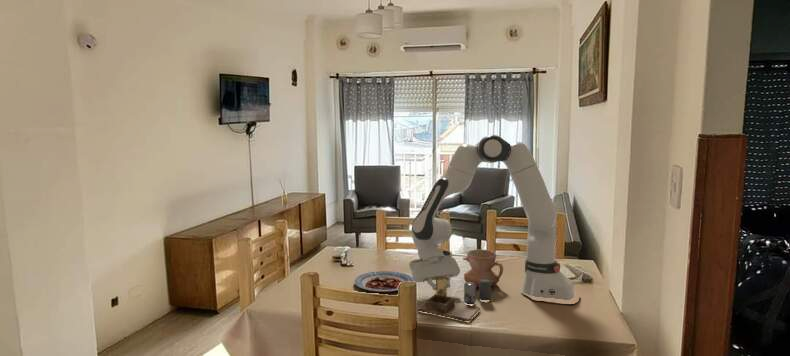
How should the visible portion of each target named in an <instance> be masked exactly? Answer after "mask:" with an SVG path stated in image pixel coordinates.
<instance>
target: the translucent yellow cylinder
mask: <svg viewBox="0 0 790 356" xmlns="http://www.w3.org/2000/svg"><path fill="white" fill-rule="evenodd" d="M435 284H437V287H438V289H437V290H435V294H437V295H442V296H447V294H448V288H447V278H444V277H438V278H436V280H435ZM447 297H448V296H447Z"/></svg>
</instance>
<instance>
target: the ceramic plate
mask: <svg viewBox="0 0 790 356" xmlns="http://www.w3.org/2000/svg"><path fill="white" fill-rule="evenodd" d="M402 281H410V282H414V283H415V281H414V280H413V276H411V275H409V274H406V273H404V272H399V271H393V270H392V271H391V270H388V271H387V270H383V271H382V270H381V271H380V270H378V271H371V272H370V271H369V272H367V273H363V274H361V275H359V276H357V277H355V279H354V284H355V286H357V287H358V288H360V289H363V290H367V291H370V292H372V291H373V292H382V293H383V292H386V293H387V292H396V291H398V290H397V289H398V285H399V283H400V282H402Z"/></svg>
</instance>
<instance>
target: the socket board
mask: <svg viewBox="0 0 790 356" xmlns="http://www.w3.org/2000/svg"><path fill="white" fill-rule="evenodd" d="M455 301H456V299H455V297H451V296H442V295H437V294H436V293H434V295H432V296H431V297H430V298H428V299H427V300H426V301H425V302H424V303H423V304H421V305H420V306H418V307H417V312H418V311H422V312H427V313H432V314H436V315H441V316H445V317H450V318H454V319H458V320H462V321H470V320H471V318H472V317H473V316H474V315H475V314H476V313H477V312H478V311H479V310H480V311H481V307H479V306H476V305H475V306H470V305H465V304H464V303H461V302H460V303H458V302H455ZM471 321H472V320H471ZM471 321H470V322H471Z"/></svg>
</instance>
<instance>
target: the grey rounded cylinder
mask: <svg viewBox="0 0 790 356" xmlns="http://www.w3.org/2000/svg"><path fill="white" fill-rule="evenodd" d="M478 288H479V289H478V292H479V293H478V298H479V299H481V300H490V299H491V297H492V296H491V295H492V294H491V293H492V286H491V281H490V280H486V279H483V280H480V284H479V287H478ZM479 299H478V300H479Z"/></svg>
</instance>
